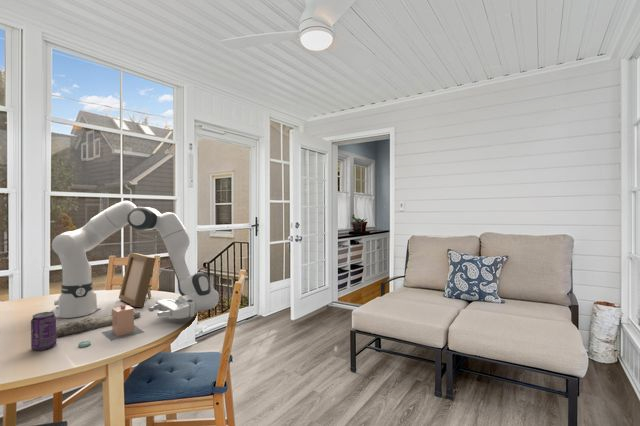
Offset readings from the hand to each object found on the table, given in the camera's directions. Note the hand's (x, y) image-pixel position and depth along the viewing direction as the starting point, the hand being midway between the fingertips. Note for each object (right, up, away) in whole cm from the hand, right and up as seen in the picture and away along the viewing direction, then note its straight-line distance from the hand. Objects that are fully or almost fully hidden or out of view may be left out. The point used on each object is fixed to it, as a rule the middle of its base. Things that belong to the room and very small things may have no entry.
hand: (153, 312), depth 146 cm
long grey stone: (-23, -6, -2) cm, 24 cm away
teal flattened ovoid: (-14, -6, -22) cm, 27 cm away
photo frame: (-24, -5, +36) cm, 43 cm away
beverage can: (-29, -6, -22) cm, 37 cm away
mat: (-8, -6, -9) cm, 13 cm away
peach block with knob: (-8, -5, -9) cm, 13 cm away
